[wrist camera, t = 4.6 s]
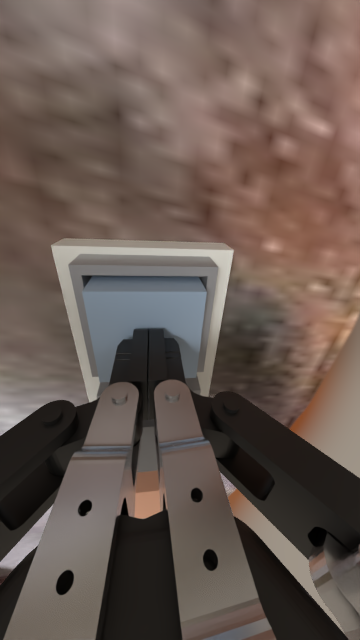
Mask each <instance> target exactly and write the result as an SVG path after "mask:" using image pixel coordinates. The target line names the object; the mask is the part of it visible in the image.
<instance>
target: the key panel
mask: <svg viewBox="0 0 360 640" xmlns="http://www.w3.org/2000/svg"><path fill="white" fill-rule="evenodd" d="M51 249H52V253H53V257H54V261H55V265H56V269H57V273H58V277H59V281H60V285H61V289H62V293H63V297H64V301H65V306H66V310H67V314H68V318H69V322H70V326H71V330H72V334H73V338H74V342H75V346H76V350H77V354H78V359H79V363H80V367H81V371H82V375H83V379H84V383H85V387H86V391H87V395H88V399H89V403H90V402H92V401H94V400H96V399H98V398H99V397H100V396H101V394H102V392H103V391H104V390H105V389H106V388H107V387H108V386H109V382H99V376H98V371H97V366H96V361H95V356H94V351H93V346H92V340H91V335H90V330H89V325H88V320H87V315H86V310H85V305H84V299H83V294H82V291H83V289H84V288H85V286H86V285H87V283H88V282H89V280H90V279H91V277H92V276H93V275H110V276H199V278H200V280H201V282H202V284H203V286H204V287H205V289H206V291H207V294H206V302H205V311H204V319H203V327H202V335H201V343H200V351H199V359H198V367H197V376H196V378H185V381H186V384H187V386H188V387H189V389H190V390H192V391H193V392H194V393H196V394H198V395H201V396H205V397H208V396H209V390H210V384H211V379H212V373H213V367H214V361H215V355H216V350H217V344H218V338H219V332H220V327H221V321H222V315H223V309H224V304H225V298H226V292H227V286H228V281H229V275H230V269H231V263H232V257H233V252H234V250H233V249H231V248H230V247H229V246H227V245H226V244H225V243H208V242H175V241H141V240H108V239H74V238H63V239H61V240H60V241H58V242H56V243H54V244H53V245H51Z"/></svg>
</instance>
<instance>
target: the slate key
mask: <svg viewBox="0 0 360 640" xmlns="http://www.w3.org/2000/svg"><path fill="white" fill-rule="evenodd" d="M82 294H83V299H84V305H85V310H86V315H87V320H88V325H89V330H90V335H91V340H92V346H93V351H94V356H95V361H96V366H97V371H98V376H99V382H110V378H111V373H112V368H113V364H114V359H115V355H116V350H117V346H118V345H119V343H120V342H121V341H122V340H123V339H132V338H133V331H134V329H148V341H149V329H163V331H164V338H174V339H175V340H176V341H177V343H178V344H179V348H180V353H181V359H182V365H183V370H184V376H185V378H196V376H197V367H198V359H199V351H200V343H201V335H202V327H203V319H204V311H205V302H206V294H207V291H206V289H205V287H204V286H203V284H202V282H201V280H200V278H199V276H110V275H93V276H92V277H91V279H90V280H89V282H88V283H87V285H86V286H85V288H84V289H83V291H82Z"/></svg>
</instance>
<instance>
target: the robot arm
mask: <svg viewBox="0 0 360 640" xmlns="http://www.w3.org/2000/svg"><path fill="white" fill-rule="evenodd" d="M148 398H149V411H150V420H151V419H154V435H155V449H156V460H157V471H158V482H159V495H160V511H161V512H159V513H156V514H154V515H152V516H150V517H148V518H145V519H140V518H135V517H134V514H135V494H136V483H137V475H138V466H139V457H140V449H141V440H142V433H143V420H148ZM220 472H221V473H222V474H223V475H224V476H225V477H226V478H227V479H228V480H229V481H230V482H231V483H232V484H233V485H234V486H235V487H236V488H237V489H238V490H239V491H240V492H241V493H242V494H243V495H244V496H245V497H246V498H247V499H248V500H249V501H250V502H251V503H252V504H253V505H254V506H255V507H256V508H257V509H258V510H259V511H260V512H261V513H262V514H263V515H264V516H265V517H266V518H267V519H268V520H269V521H270V522H271V523H272V524H273V525H274V526H275V527H276V528H277V529H278V530H279V531H280V532H281V533H282V534H283V535H284V536H285V537H286V538H287V539H288V540H289V541H290V542H291V543H292V544H293V545H294V546H295V547H296V548H297V549H298V550H299V551H300V552H301V553H302V554H303V555H304V556H305V557H306V558H307V559H308V560H309V567H310V573H311V577H312V580H313V583H314V585H315V587H316V590H317V592H318V593H319V595H320V597H321V598H322V600H323V601H324V603H325V604H326V606H327V607H328V608H329V609H330V611H331V612H332V613H333V615H334V616H335V617H336V619H337V621H338V622H339V624H340V625H341V627H342V629H343V631H344V633H345V634H344V633H343V632H342V631H341V630H340V629H339V628H338V626H337V625H336V624H335V623H334V622H333V621H332V620H331V618H330V617H329V616H328V615H327V614H326V613H325V612H324V611H323V609H322V608H321V607H320V606H319V605H318V604H317V603H316V601H315V600H314V599H313V598H312V597H311V596H310V595H309V593H308V592H307V591H306V590H305V589H304V588H303V587H302V586H301V584H300V583H299V582H298V581H297V580H296V579H295V578H294V576H293V575H292V574H291V573H290V572H289V571H288V570H287V568H286V567H285V566H284V565H283V564H282V563H281V562H280V560H279V559H278V558H277V557H276V556H275V555H274V553H273V552H272V551H271V550H270V549H269V548H268V547H267V545H266V544H265V543H264V542H263V541H262V540H261V539H260V538H259V537H258V535H257V534H256V533H255V532H254V531H253V530H252V529H251V528H249V527H248V526H247V525H246V524H245V523H244V522H242V521H241V520H239V519H238V518H236V517H234V516H233V513H232V510H231V507H230V504H229V500H228V497H227V494H226V491H225V487H224V484H223V481H222V478H221V475H220ZM53 504H54V505H53ZM52 505H53V507H52V510H51V513H50V515H49V518H48V521H47V523H46V526H45V529H44V532H43V534H42V537H41V540H40V542H39V545H38V546H37V547H36V548H35V549H34V550H32V551H31V552H30V553H29V554H28V555H27V556H26V557H25V558H24V559H23V560H22V561H21V562H20V563H19V564H18V565H17V566H16V568H15V569H14V570H13V571H12V572H11V573H10V575H9V576H8V577H7V578H6V579H5V581H4V582H3V583H2V584H1V585H0V640H360V478H359V477H357V476H355V475H354V474H353V473H351V472H350V471H348V470H347V469H346V468H344V467H343V466H341V465H340V464H338V463H337V462H335V461H334V460H332V459H331V458H330V457H328V456H327V455H325V454H324V453H322V452H321V451H320V450H318V449H317V448H315V447H314V446H312V445H311V444H310V443H308V442H307V441H305V440H304V439H302V438H301V437H299V436H298V435H297V434H295V433H294V432H292V431H291V430H289V429H288V428H286V427H285V426H284V425H282V424H281V423H279V422H278V421H276V420H275V419H273V418H272V417H271V416H269V415H268V414H266V413H265V412H263V411H262V410H261V409H259V408H258V407H256V406H255V405H253V404H252V403H250V402H249V401H248V400H246V399H245V398H243V397H242V396H240V395H239V394H236V393H233V392H227V391H226V392H220V393H218V394H217V395H215V397H214V398H210V397H205V396H201V395H198V394H196V393H194V392H193V391H192V390H190V389H189V387H188V386H187V384H186V381H185V376H184V370H183V365H182V359H181V353H180V348H179V344H178V343H177V341H176V340H175V339H174V338H164V331H163V329H149V341H148V329H134V331H133V338H132V339H123V340H122V341H121V342H120V343H119V345H118V346H117V350H116V355H115V359H114V364H113V368H112V373H111V378H110V382H109V386H108V387H107V388H106V389H105V390H104V391H103V392H102V394H101V396H100V397H99V398H98V399H96V400H94V401H92V402H90V403H87V404H84V405H80V406H77V407H75V406H74V405H73V404H72V403H71V402H69V401H66V400H57V401H53V402H50V403H48V404H46V405H44V406H42V407H41V408H39V409H38V410H36V411H35V412H34V413H32V414H31V415H29V416H28V417H27V418H25V419H24V420H22V421H21V422H20V423H18V424H17V425H15V426H14V427H12V428H11V429H10V430H8V431H7V432H5V433H4V434H3V435H1V436H0V561H1V560H2V559H3V558H4V557H5V556H6V555H7V554H8V553H9V552H10V551H11V549H12V548H13V547H14V546H15V545H16V544H17V543H18V542H19V541H20V540H21V539H22V537H23V536H24V535H25V534H26V533H27V532H28V531H29V530H30V529H31V528H32V527H33V525H34V524H35V523H36V522H37V521H38V520H39V519H40V518H41V517H42V516H43V515H44V513H45V512H46V511H47V510H48V509H49V508H50V507H51V506H52ZM345 635H346V636H345Z"/></svg>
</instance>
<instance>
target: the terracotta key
mask: <svg viewBox="0 0 360 640" xmlns="http://www.w3.org/2000/svg"><path fill="white" fill-rule="evenodd" d="M159 512H161V511H160V495H159V482H158V471H148V472H138V475H137V483H136V494H135V514H134V517H135V518H140V519H143V518H148V517H150V516H152V515H154V514H156V513H159Z"/></svg>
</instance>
